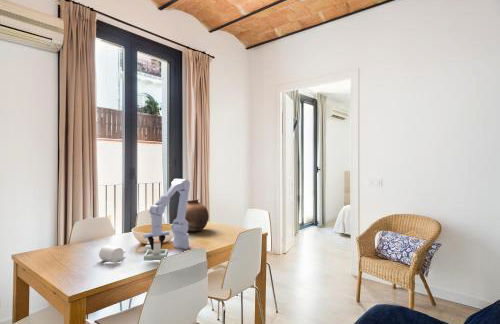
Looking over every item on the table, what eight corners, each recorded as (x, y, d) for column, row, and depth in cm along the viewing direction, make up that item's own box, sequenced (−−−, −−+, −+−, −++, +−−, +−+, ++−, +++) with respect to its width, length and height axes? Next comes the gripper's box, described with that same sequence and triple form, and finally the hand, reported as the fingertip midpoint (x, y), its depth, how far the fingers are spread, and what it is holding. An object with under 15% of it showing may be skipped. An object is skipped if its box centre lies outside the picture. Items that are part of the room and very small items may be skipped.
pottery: (205, 234, 223) (206, 201, 223) (175, 234, 223) (176, 201, 223) (210, 227, 246) (210, 197, 245) (182, 227, 246) (183, 197, 246)
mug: (111, 264, 157) (111, 250, 157) (98, 261, 161) (98, 247, 161) (129, 258, 168) (129, 244, 167) (117, 255, 172) (117, 241, 172)
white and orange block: (158, 251, 174) (158, 239, 174) (160, 253, 171) (160, 241, 170) (151, 252, 172) (151, 240, 172) (153, 254, 168) (153, 242, 168)
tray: (167, 253, 178) (167, 249, 178) (165, 259, 166) (165, 255, 166) (147, 253, 176) (147, 249, 176) (143, 260, 164) (143, 256, 164)
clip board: (161, 247, 188) (161, 241, 188) (159, 252, 178) (159, 246, 178) (138, 248, 186) (138, 242, 185) (135, 253, 176) (135, 246, 176)
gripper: (166, 222, 178) (166, 245, 178) (141, 225, 170) (141, 249, 170) (170, 225, 172) (170, 248, 172) (145, 228, 164) (144, 252, 164)
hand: (156, 248), depth 171 cm, fingers closed on white and orange block, 4 cm apart
